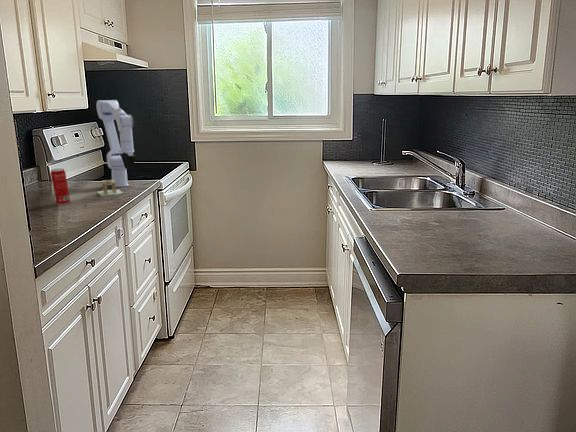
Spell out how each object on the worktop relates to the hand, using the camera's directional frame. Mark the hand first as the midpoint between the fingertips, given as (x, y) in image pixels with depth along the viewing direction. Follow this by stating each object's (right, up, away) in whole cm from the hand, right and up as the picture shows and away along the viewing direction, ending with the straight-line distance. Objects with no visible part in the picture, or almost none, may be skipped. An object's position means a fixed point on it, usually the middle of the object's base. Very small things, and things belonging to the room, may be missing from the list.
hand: (129, 169), depth 239 cm
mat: (-8, -12, -4) cm, 15 cm away
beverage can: (-21, -17, -25) cm, 37 cm away
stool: (-8, -11, -4) cm, 14 cm away
